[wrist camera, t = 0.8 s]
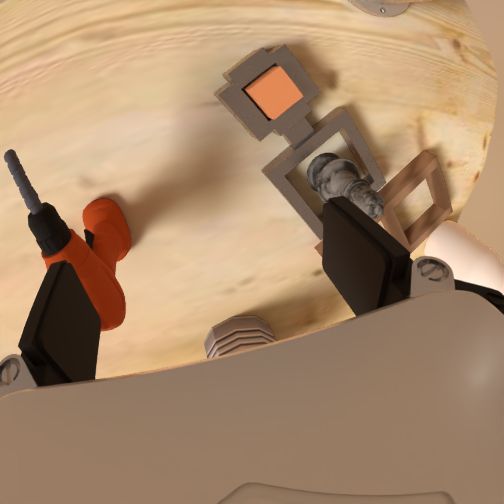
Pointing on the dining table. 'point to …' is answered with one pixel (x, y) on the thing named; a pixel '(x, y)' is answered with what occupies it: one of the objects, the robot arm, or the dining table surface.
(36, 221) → the toy drill
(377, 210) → the chess piece
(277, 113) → the button
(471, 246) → the wine bottle
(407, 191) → the walnut rack
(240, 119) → the grey flat frame piece
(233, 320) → the can
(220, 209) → the dining table surface
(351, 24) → the dining table surface
